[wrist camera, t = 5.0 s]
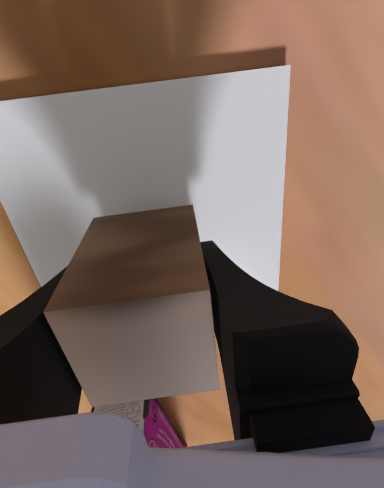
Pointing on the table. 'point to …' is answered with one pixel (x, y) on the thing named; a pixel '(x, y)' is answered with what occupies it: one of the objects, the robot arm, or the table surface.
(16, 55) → the table surface
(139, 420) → the candy bar box
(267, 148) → the pad
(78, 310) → the walnut block
